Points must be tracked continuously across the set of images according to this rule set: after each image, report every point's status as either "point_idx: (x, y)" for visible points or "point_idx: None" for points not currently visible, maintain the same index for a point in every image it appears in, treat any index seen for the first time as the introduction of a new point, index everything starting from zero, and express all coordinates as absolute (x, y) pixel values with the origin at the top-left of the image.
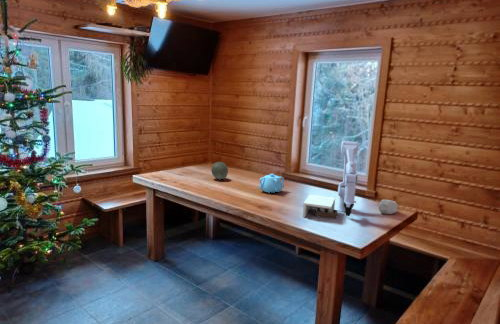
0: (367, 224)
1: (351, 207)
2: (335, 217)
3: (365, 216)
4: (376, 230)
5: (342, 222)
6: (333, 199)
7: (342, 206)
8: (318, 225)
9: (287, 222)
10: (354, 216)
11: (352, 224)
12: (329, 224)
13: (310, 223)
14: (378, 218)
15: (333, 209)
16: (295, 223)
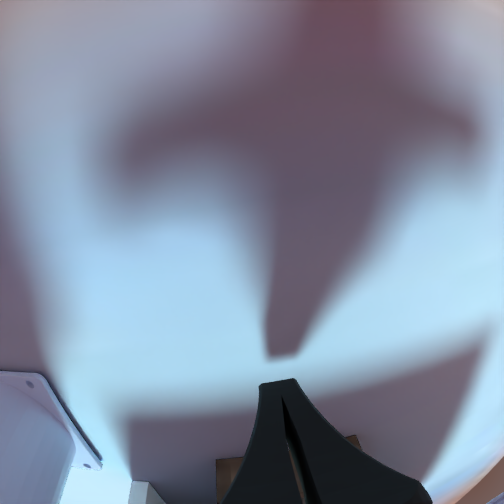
0: (394, 74)
1: (401, 486)
2: (359, 447)
3: (17, 173)
4: (498, 9)
5: (437, 361)
6: None
7: (62, 481)
8: (499, 422)
9: (464, 491)
10: (122, 314)
11: (468, 261)
12: (487, 400)
13: (474, 455)
14: (18, 5)
15: (147, 501)
16: (474, 476)
